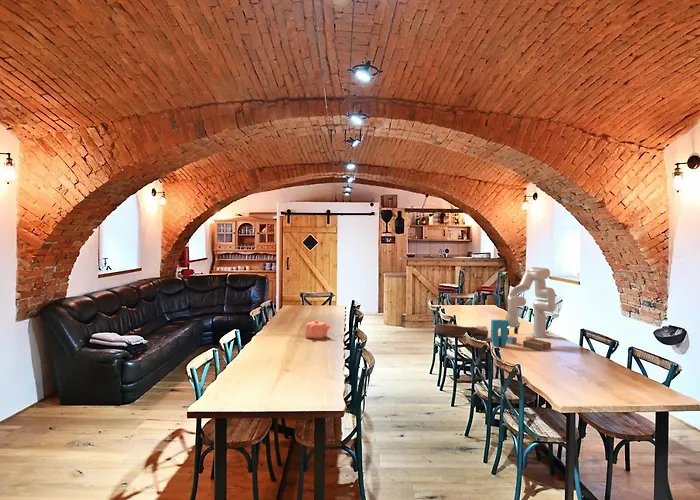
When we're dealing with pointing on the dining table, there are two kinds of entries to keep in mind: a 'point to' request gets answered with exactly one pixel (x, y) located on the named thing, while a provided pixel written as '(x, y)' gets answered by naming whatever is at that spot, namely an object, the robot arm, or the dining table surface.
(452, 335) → the log
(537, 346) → the walnut base block
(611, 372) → the dining table surface
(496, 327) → the block
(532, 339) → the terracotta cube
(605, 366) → the dining table surface
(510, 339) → the slate-blue cube
